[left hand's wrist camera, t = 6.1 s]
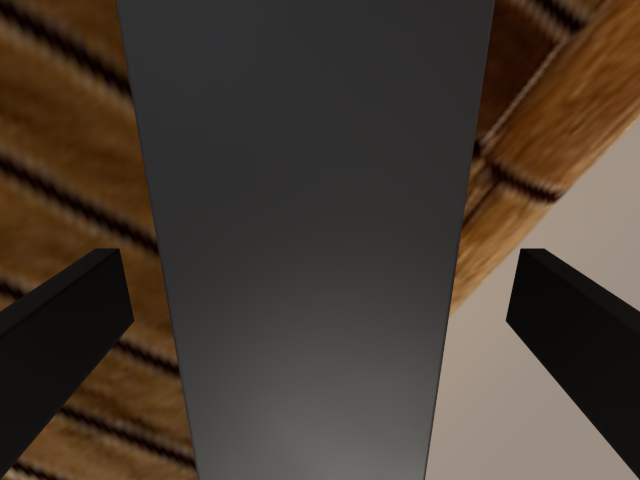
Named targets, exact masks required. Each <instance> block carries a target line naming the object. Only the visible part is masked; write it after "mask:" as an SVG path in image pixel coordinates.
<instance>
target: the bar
mask: <svg viewBox="0 0 640 480" xmlns="http://www.w3.org/2000/svg"><path fill="white" fill-rule="evenodd" d="M494 3H495V0H116V6H117V12H118V18H119V23H120V29H121V35H122V41H123V47H124V52H125V58H126V64H127V70H128V75H129V81H130V87H131V93H132V99H133V104H134V110H135V116H136V122H137V128H138V133H139V139H140V145H141V151H142V157H143V162H144V168H145V174H146V180H147V186H148V191H149V197H150V203H151V209H152V215H153V220H154V226H155V232H156V238H157V244H158V249H159V255H160V261H161V267H162V273H163V278H164V284H165V290H166V296H167V302H168V307H169V313H170V319H171V325H172V330H173V336H174V342H175V348H176V354H177V359H178V365H179V371H180V377H181V383H182V388H183V394H184V400H185V406H186V412H187V417H188V423H189V429H190V435H191V441H192V446H193V452H194V458H195V464H196V470H197V475H198V480H425V475H426V468H427V461H428V454H429V448H430V441H431V434H432V427H433V420H434V414H435V407H436V400H437V393H438V386H439V379H440V373H441V366H442V359H443V352H444V345H445V338H446V332H447V325H448V318H449V311H450V304H451V297H452V291H453V284H454V277H455V270H456V263H457V256H458V250H459V243H460V236H461V229H462V222H463V215H464V208H465V202H466V195H467V188H468V181H469V174H470V167H471V161H472V154H473V147H474V140H475V133H476V126H477V120H478V113H479V106H480V99H481V92H482V85H483V79H484V72H485V65H486V58H487V51H488V44H489V38H490V31H491V24H492V17H493V10H494Z"/></svg>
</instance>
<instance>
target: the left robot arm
mask: <svg viewBox="0 0 640 480" xmlns="http://www.w3.org/2000/svg"><path fill="white" fill-rule="evenodd" d="M133 322H134V317H133V312H132V307H131V303H130V298H129V293H128V288H127V283H126V278H125V274H124V269H123V264H122V259H121V254H120V249H94V250H93V251H91V252H90V253H88V254H87V255H85V256H84V257H82V258H81V259H79V260H78V261H76V262H75V263H73V264H72V265H70V266H69V267H67V268H66V269H64V270H63V271H61V272H60V273H58V274H57V275H55V276H54V277H52V278H51V279H49V280H47V281H46V282H44V283H43V284H41V285H40V286H38V287H37V288H35V289H34V290H32V291H31V292H29V293H28V294H26V295H25V296H23V297H22V298H20V299H19V300H17V301H16V302H14V303H13V304H11V305H10V306H8V307H7V308H5V309H4V310H2V311H0V480H1V478H2V477H3V476H4V475H5V474H6V472H7V471H8V470H9V469H10V468H11V467H12V465H13V464H14V463H15V462H16V461H17V459H18V458H19V457H20V456H21V455H22V453H23V452H24V451H25V450H26V449H27V448H28V446H29V445H30V444H31V443H32V442H33V440H34V439H35V438H36V437H37V436H38V434H39V433H40V432H41V431H42V430H43V429H44V427H45V426H46V425H47V424H48V423H49V421H50V420H51V419H52V418H53V417H54V416H55V414H56V413H57V412H58V411H59V410H60V408H61V407H62V406H63V405H64V404H65V402H66V401H67V400H68V399H69V398H70V397H71V395H72V394H73V393H74V392H75V391H76V389H77V388H78V387H79V386H80V385H81V384H82V382H83V381H84V380H85V379H86V378H87V376H88V375H89V374H90V373H91V372H92V370H93V369H94V368H95V367H96V366H97V365H98V363H99V362H100V361H101V360H102V359H103V357H104V356H105V355H106V354H107V353H108V351H109V350H110V349H111V348H112V347H113V346H114V344H115V343H116V342H117V341H118V340H119V338H120V337H121V336H122V335H123V334H124V333H125V331H126V330H127V329H128V328H129V327H130V325H131V324H132V323H133ZM506 322H507V323H508V324H509V325H510V327H511V328H512V329H513V330H514V331H515V333H516V334H517V335H518V336H519V337H520V338H521V340H522V341H523V342H524V343H525V344H526V346H527V347H528V348H529V349H530V350H531V351H532V353H533V354H534V355H535V356H536V357H537V359H538V360H539V361H540V362H541V363H542V365H543V366H544V367H545V368H546V369H547V370H548V372H549V373H550V374H551V375H552V376H553V378H554V379H555V380H556V381H557V382H558V384H559V385H560V386H561V387H562V388H563V389H564V391H565V392H566V393H567V394H568V395H569V396H570V398H571V399H572V400H573V401H574V402H575V404H576V405H577V406H578V407H579V408H580V410H581V411H582V412H583V413H584V414H585V416H586V417H587V418H588V419H589V420H590V421H591V423H592V424H593V425H594V426H595V427H596V429H597V430H598V431H599V432H600V433H601V434H602V436H603V437H604V438H605V439H606V440H607V442H608V443H609V444H610V445H611V446H612V448H613V449H614V450H615V451H616V452H617V453H618V455H619V456H620V457H621V458H622V459H623V461H624V462H625V463H626V464H627V465H628V466H629V468H630V469H631V470H632V471H633V472H634V474H635V475H636V476H637V477H638V478H639V480H640V312H639V311H638V310H636V309H635V308H633V307H632V306H630V305H629V304H627V303H626V302H624V301H623V300H621V299H620V298H618V297H617V296H615V295H614V294H612V293H611V292H609V291H608V290H606V289H605V288H603V287H602V286H600V285H599V284H597V283H596V282H594V281H593V280H591V279H589V278H588V277H586V276H585V275H583V274H582V273H580V272H579V271H577V270H576V269H574V268H573V267H571V266H570V265H568V264H567V263H565V262H564V261H562V260H561V259H559V258H558V257H556V256H555V255H553V254H552V253H550V252H549V251H547V250H546V249H520V254H519V259H518V264H517V269H516V274H515V278H514V283H513V288H512V293H511V298H510V303H509V307H508V312H507V317H506Z"/></svg>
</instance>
